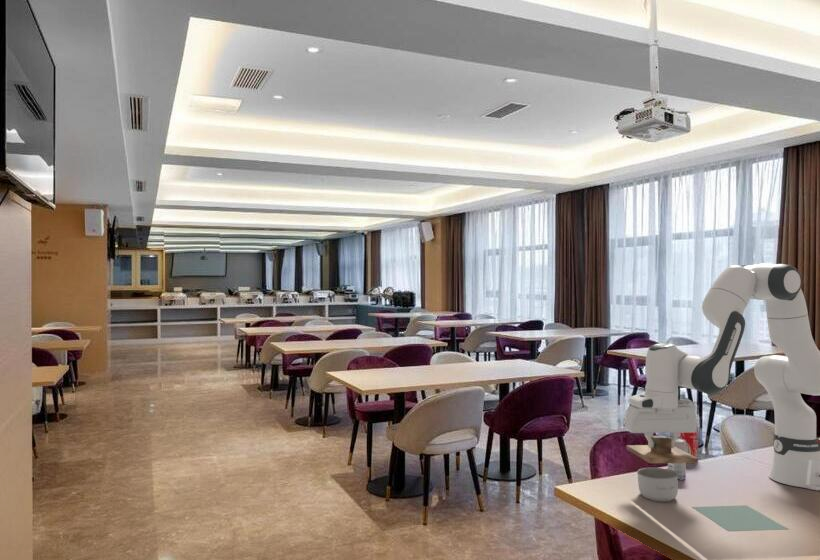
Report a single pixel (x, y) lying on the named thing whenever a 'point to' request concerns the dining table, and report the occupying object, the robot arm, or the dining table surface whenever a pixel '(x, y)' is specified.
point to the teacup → (658, 484)
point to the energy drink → (679, 467)
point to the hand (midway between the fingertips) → (660, 447)
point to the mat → (739, 518)
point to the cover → (662, 452)
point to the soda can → (690, 442)
